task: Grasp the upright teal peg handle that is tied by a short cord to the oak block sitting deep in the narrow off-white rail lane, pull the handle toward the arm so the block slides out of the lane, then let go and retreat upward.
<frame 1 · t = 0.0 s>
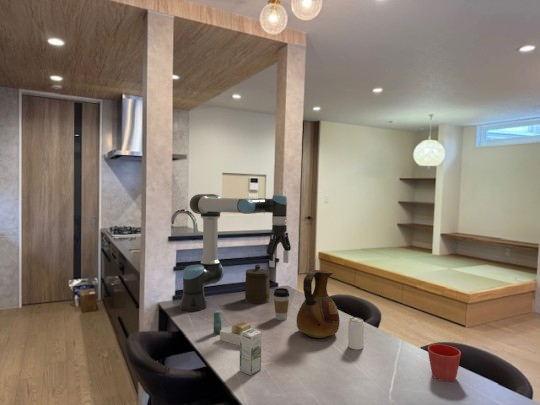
hand: (279, 264, 190), 28 cm above the table, fingers open, 13 cm apart
coffee cup: (281, 318, 190), on the table
flower pot: (443, 376, 131), on the table
ceramic pitcher: (317, 334, 169), on the table
corded oak block: (241, 340, 162), on the table
can: (355, 347, 155), on the table
syrup box: (250, 371, 134), on the table
wooden container: (257, 300, 222), on the table
rail lane: (239, 339, 162), on the table
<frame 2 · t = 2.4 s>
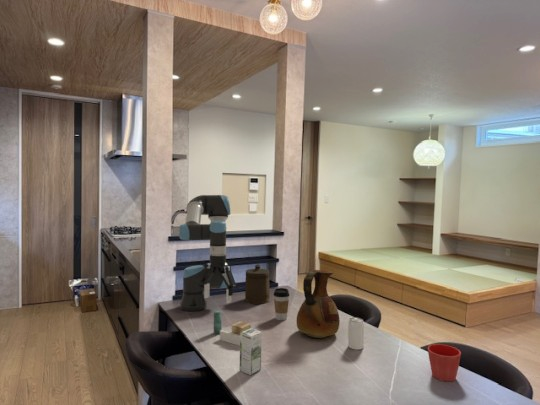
hand: (217, 300, 169), 16 cm above the table, fingers open, 13 cm apart
nothing on the table moved.
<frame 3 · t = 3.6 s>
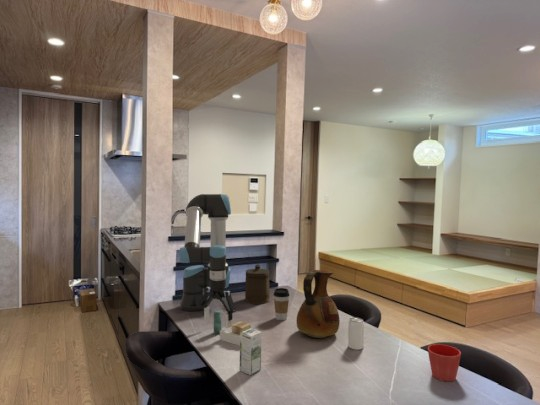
hand: (217, 324, 169), 4 cm above the table, fingers open, 13 cm apart
nothing on the table moved.
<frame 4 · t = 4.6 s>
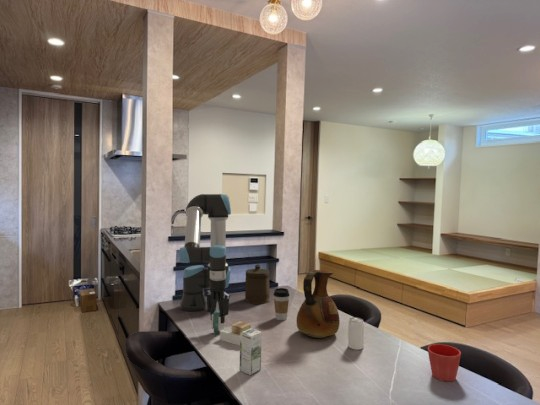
hand: (217, 328, 169), 2 cm above the table, fingers closed on corded oak block, 4 cm apart
corded oak block: (241, 340, 162), on the table, touching gripper
everything else where it was.
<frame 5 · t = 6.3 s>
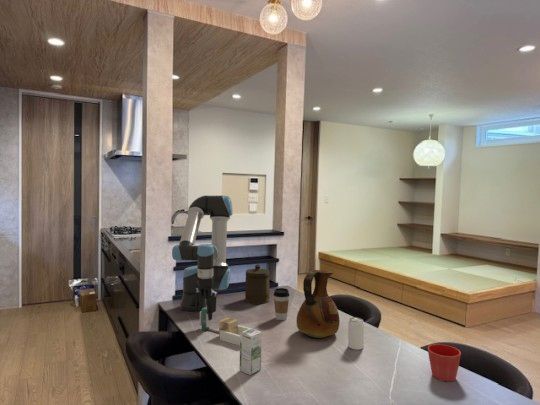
hand: (205, 325, 174), 2 cm above the table, fingers closed on corded oak block, 4 cm apart
corded oak block: (228, 335, 167), on the table, touching gripper
everything else where it was.
when the fingers open (2 cm above the table, at t = 8.0 s): corded oak block stays where it is, on the table.
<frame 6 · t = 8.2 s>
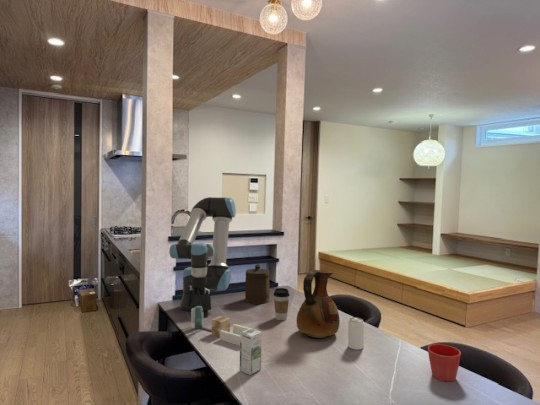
hand: (198, 322, 176), 2 cm above the table, fingers open, 6 cm apart
corded oak block: (220, 333, 169), on the table
everything else where it was.
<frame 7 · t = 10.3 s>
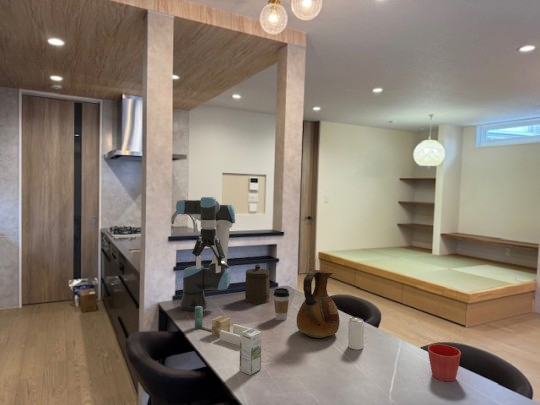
hand: (208, 270, 181), 27 cm above the table, fingers open, 13 cm apart
nothing on the table moved.
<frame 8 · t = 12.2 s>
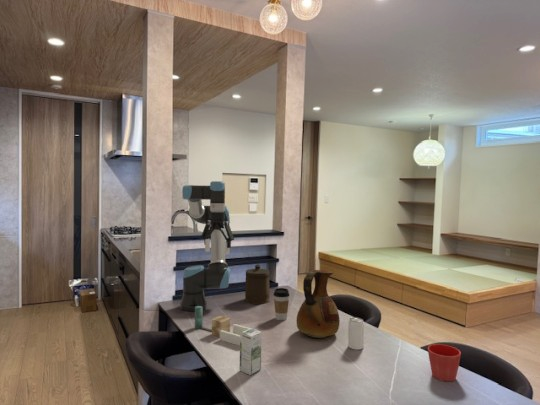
hand: (217, 252, 186), 35 cm above the table, fingers open, 13 cm apart
nothing on the table moved.
at the end: corded oak block inside the target area (8.9 cm from its centre), on the table; corded oak block moved 12.1 cm from its start; the gripper is holding nothing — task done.
